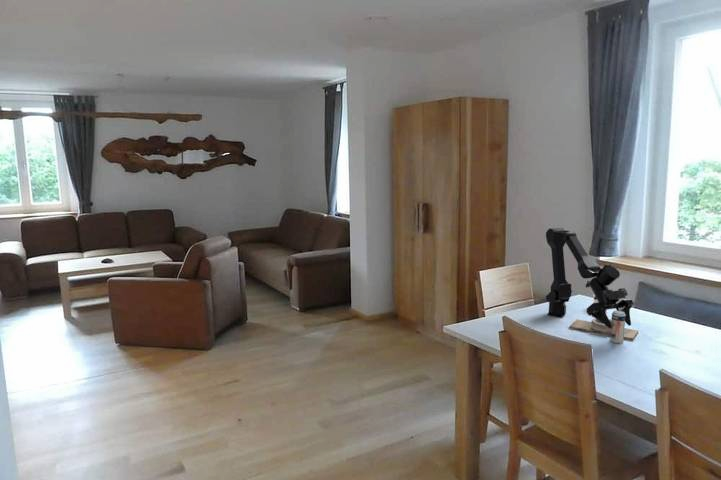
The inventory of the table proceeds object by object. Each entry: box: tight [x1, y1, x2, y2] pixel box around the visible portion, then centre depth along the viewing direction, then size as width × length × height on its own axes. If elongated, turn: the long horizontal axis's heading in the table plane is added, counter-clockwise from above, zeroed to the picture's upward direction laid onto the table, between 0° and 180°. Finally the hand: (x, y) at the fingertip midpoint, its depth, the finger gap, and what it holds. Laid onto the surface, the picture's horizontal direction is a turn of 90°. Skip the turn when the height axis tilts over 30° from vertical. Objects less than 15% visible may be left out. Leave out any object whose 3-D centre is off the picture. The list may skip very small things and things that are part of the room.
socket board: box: [569, 317, 639, 342], centre depth 211 cm, size 24×11×4 cm, turn 52°
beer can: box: [609, 309, 626, 344], centre depth 198 cm, size 5×5×12 cm
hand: (620, 326), depth 197 cm, fingers open, 9 cm apart
